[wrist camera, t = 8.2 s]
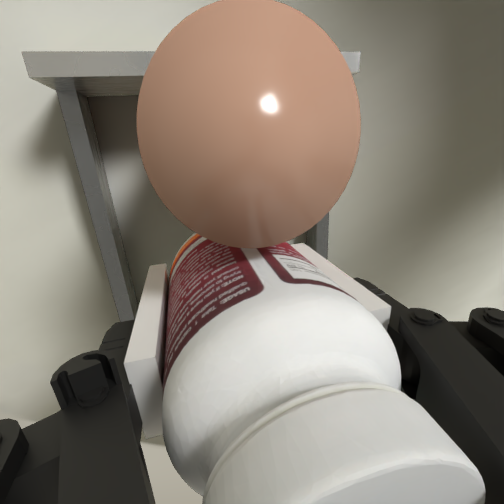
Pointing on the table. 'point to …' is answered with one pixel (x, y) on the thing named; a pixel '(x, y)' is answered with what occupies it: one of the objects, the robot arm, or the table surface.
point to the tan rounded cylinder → (248, 122)
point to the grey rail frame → (88, 152)
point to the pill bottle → (292, 390)
